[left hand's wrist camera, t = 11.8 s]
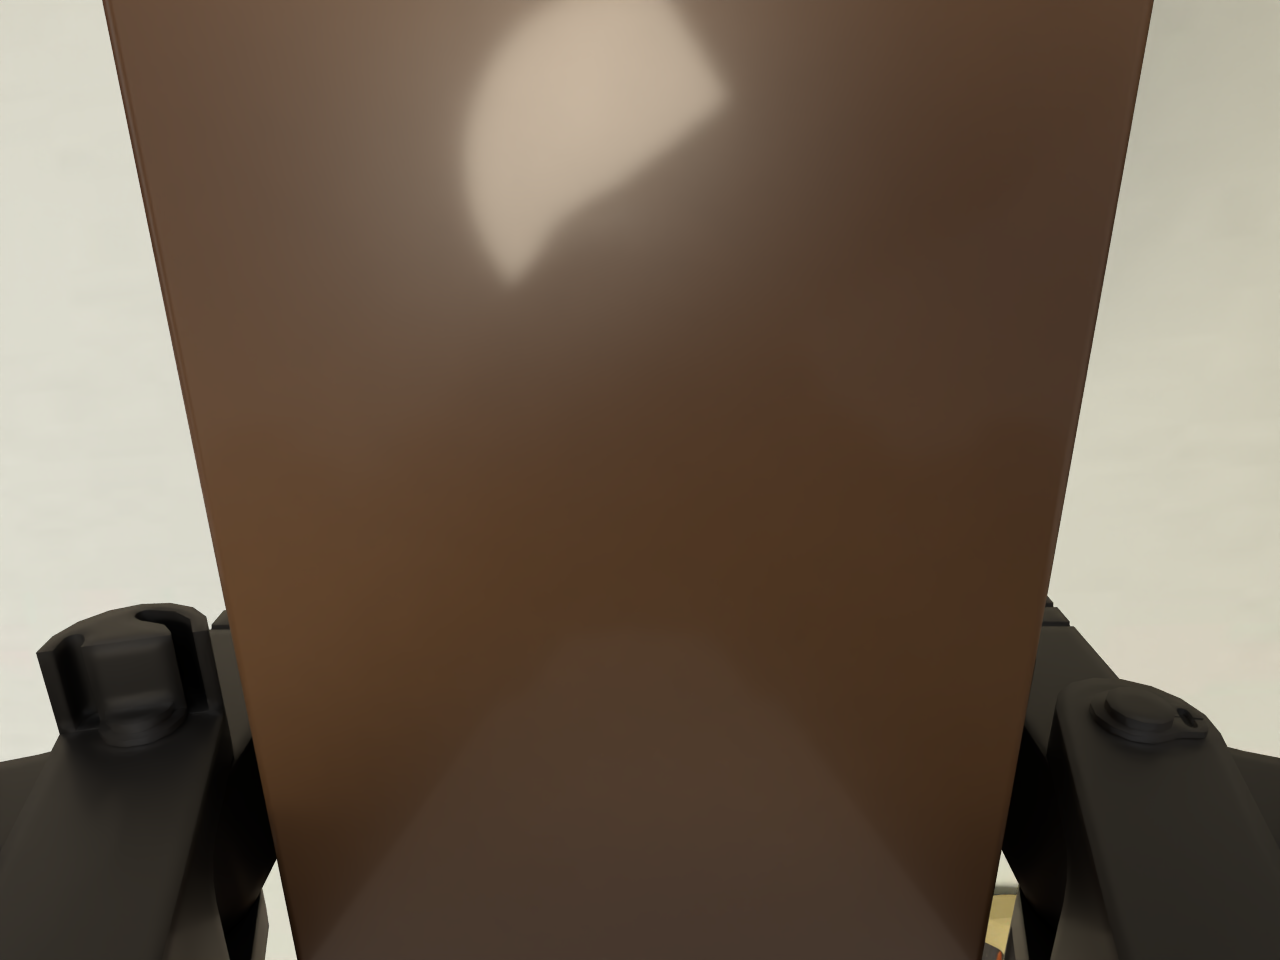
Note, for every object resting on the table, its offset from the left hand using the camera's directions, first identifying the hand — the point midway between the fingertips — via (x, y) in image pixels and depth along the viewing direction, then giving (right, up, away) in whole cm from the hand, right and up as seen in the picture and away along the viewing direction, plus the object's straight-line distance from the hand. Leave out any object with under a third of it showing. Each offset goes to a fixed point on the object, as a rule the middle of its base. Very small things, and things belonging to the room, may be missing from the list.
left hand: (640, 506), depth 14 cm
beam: (0, -23, +9) cm, 25 cm away
